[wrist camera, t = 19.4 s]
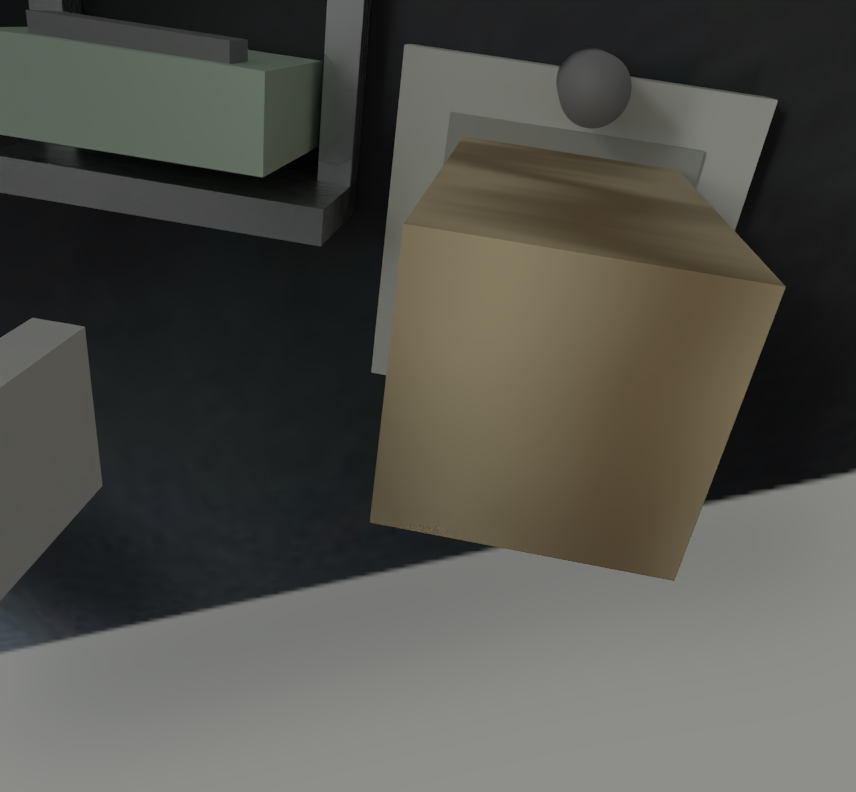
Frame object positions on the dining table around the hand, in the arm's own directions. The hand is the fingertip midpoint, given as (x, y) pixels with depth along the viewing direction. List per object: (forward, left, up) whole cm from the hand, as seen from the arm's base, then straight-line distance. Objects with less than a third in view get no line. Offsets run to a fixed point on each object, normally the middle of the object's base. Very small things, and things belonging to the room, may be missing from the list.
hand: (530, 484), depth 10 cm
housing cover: (-11, +3, -14) cm, 18 cm away
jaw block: (0, 0, -13) cm, 13 cm away
